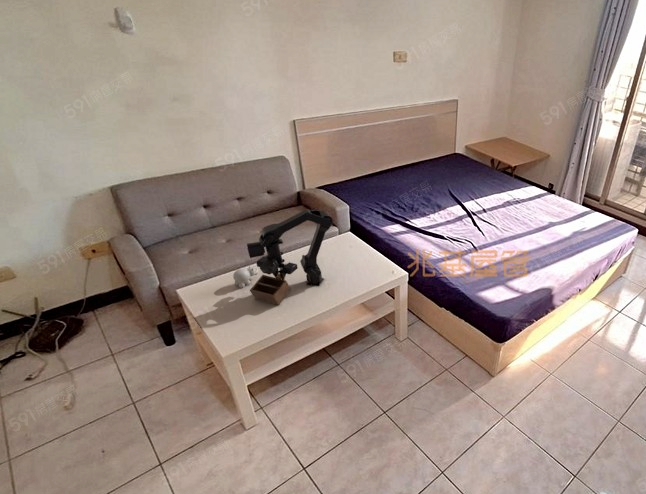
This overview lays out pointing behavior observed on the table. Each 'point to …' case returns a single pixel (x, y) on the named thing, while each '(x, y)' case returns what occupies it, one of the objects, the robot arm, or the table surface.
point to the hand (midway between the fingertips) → (280, 279)
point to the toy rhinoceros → (244, 276)
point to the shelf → (270, 289)
